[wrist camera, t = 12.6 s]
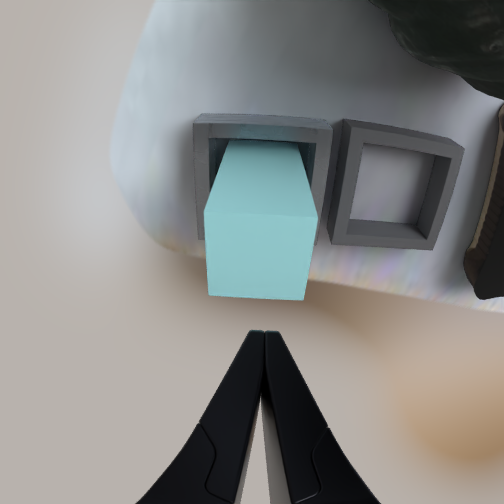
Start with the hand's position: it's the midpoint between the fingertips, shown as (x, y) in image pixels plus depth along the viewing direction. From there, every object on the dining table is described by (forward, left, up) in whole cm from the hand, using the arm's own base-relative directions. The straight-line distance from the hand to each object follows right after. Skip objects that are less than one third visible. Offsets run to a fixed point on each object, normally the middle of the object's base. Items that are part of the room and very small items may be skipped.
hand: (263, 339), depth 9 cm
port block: (0, 0, -13) cm, 13 cm away
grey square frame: (-8, 0, -13) cm, 15 cm away
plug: (0, 0, -13) cm, 13 cm away
